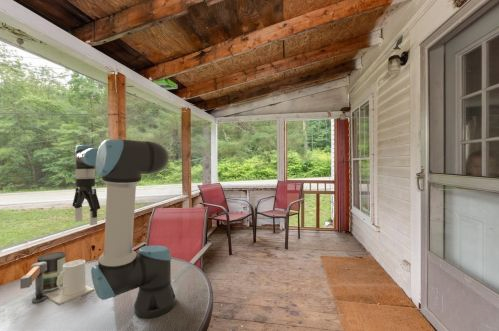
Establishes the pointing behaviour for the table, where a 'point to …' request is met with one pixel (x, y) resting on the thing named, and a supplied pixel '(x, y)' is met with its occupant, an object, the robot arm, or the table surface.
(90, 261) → the table surface
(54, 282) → the coffee can
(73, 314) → the table surface
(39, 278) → the post
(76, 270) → the mug
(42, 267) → the swing arm
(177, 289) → the table surface
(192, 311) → the table surface
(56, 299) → the coaster
